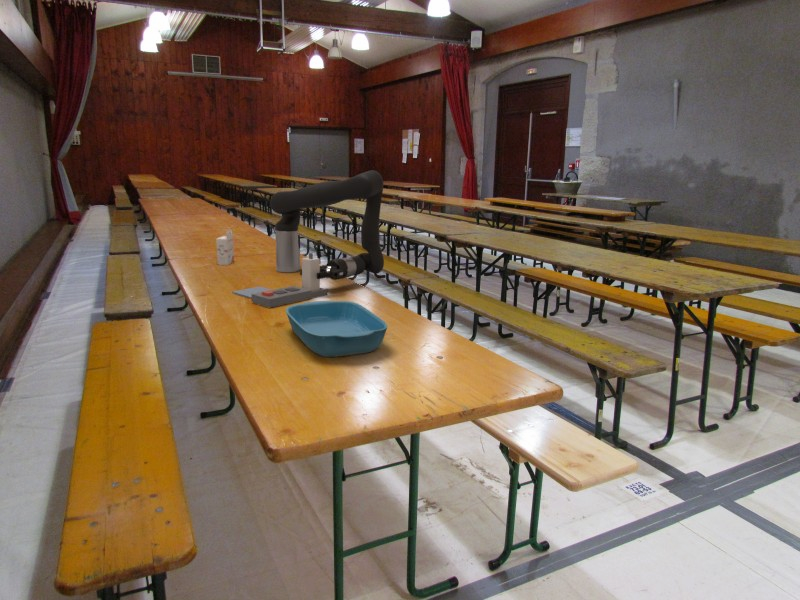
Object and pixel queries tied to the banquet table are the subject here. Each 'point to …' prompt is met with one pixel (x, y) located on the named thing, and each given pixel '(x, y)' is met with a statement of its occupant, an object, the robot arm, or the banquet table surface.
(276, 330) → the banquet table surface
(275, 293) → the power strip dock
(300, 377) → the banquet table surface
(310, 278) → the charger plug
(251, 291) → the rubber mat
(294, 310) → the casserole dish
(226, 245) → the ink cartridge box
